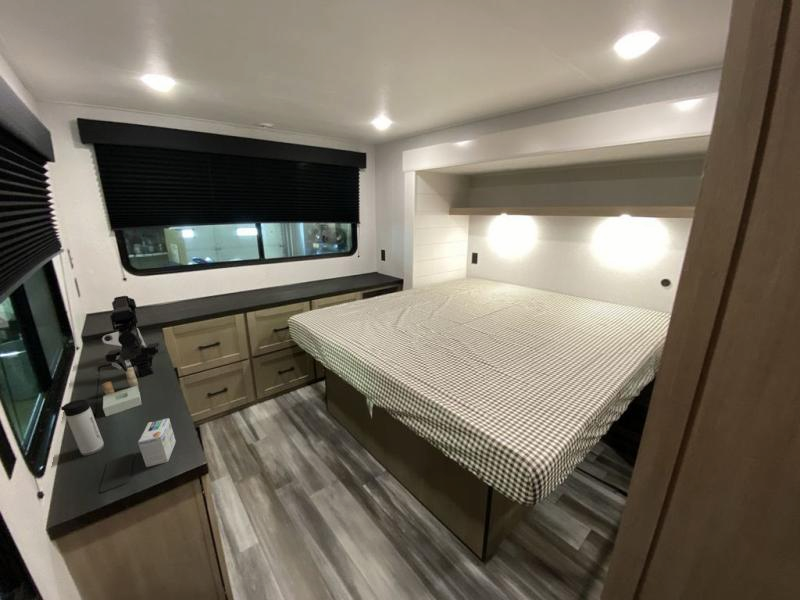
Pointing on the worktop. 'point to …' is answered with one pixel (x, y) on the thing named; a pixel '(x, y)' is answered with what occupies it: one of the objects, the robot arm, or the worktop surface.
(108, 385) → the short dowel
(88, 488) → the worktop surface
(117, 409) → the hole block
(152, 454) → the light bulb box
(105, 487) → the phone
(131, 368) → the long dowel
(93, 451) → the travel mug
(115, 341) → the phone holder
